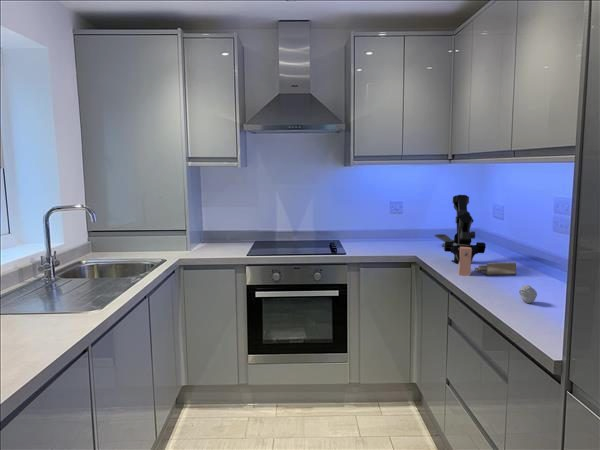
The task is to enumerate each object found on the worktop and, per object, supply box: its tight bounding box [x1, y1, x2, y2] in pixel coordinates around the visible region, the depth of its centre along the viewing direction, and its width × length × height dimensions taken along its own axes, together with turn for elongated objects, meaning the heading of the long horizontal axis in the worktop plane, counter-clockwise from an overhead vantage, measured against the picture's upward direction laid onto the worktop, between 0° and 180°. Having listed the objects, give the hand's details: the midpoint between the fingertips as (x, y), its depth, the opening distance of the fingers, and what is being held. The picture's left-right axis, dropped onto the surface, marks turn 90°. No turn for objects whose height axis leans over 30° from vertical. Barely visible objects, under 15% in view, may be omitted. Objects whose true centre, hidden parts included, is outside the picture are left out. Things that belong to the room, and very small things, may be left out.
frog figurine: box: [518, 284, 538, 304], centre depth 174 cm, size 6×7×7 cm
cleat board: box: [474, 262, 517, 277], centre depth 223 cm, size 13×14×6 cm
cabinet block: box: [457, 247, 472, 277], centre depth 219 cm, size 6×5×13 cm
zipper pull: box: [434, 233, 454, 248], centre depth 293 cm, size 9×7×25 cm
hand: (465, 261), depth 218 cm, fingers closed on cabinet block, 5 cm apart
